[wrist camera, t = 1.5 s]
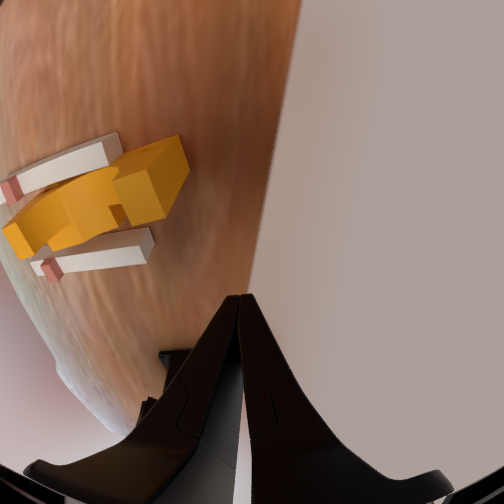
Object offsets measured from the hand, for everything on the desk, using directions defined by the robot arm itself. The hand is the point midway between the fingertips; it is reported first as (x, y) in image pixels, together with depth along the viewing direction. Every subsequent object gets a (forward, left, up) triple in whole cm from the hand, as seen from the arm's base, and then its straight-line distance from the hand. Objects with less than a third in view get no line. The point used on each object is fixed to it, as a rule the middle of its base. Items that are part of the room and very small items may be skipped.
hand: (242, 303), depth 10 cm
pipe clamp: (+1, +10, -12) cm, 15 cm away
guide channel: (0, +14, -11) cm, 18 cm away
